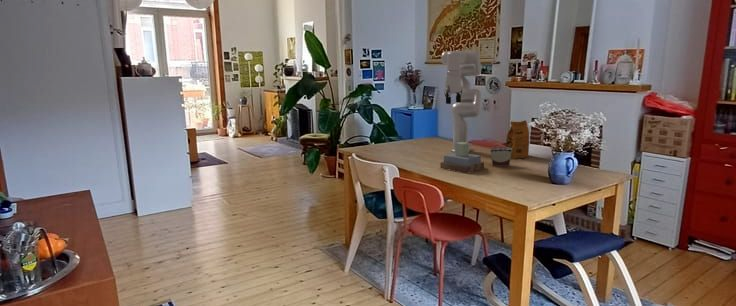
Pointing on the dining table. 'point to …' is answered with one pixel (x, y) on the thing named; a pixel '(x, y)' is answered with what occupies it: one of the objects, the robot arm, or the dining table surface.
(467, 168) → the base block
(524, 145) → the coffee package
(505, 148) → the food container
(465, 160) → the top block
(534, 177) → the dining table surface
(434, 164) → the dining table surface
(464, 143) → the sage block
